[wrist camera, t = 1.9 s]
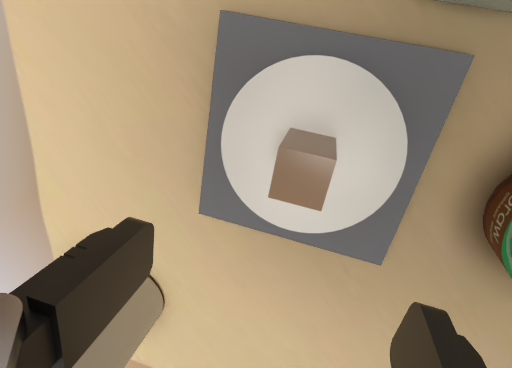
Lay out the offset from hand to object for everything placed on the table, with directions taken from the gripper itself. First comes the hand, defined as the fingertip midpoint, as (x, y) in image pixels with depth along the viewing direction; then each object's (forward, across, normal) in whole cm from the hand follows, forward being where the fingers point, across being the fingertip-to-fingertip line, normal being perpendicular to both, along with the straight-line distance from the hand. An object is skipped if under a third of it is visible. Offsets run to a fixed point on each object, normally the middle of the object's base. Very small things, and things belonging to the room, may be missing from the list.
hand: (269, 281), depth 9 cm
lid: (+15, 0, 0) cm, 15 cm away
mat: (+15, 0, 0) cm, 15 cm away
